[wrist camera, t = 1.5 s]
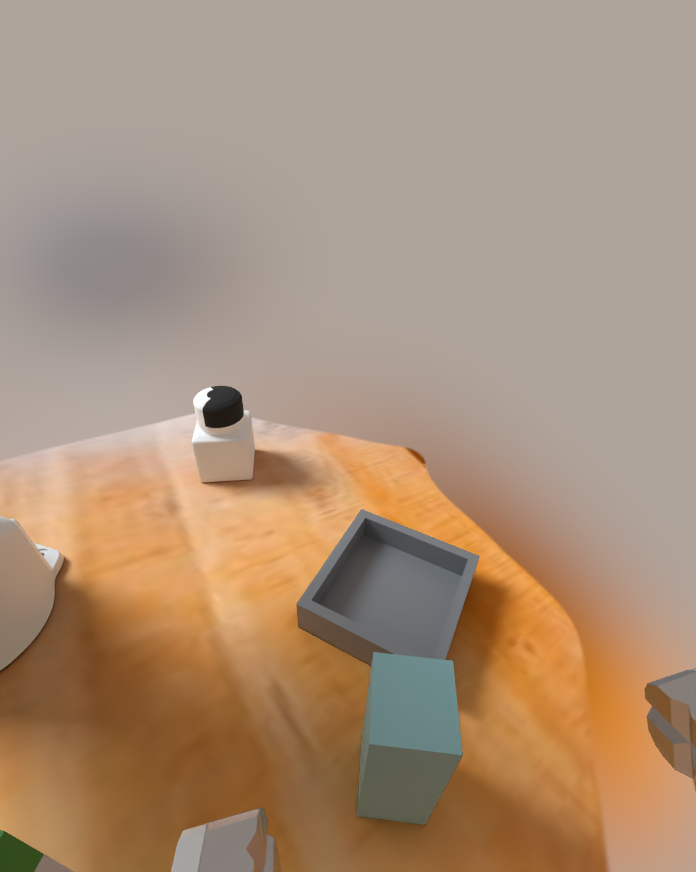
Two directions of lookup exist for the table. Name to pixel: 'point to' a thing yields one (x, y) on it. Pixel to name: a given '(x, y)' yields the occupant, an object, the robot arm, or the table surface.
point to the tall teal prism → (408, 737)
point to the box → (388, 592)
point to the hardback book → (24, 857)
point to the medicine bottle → (222, 436)
